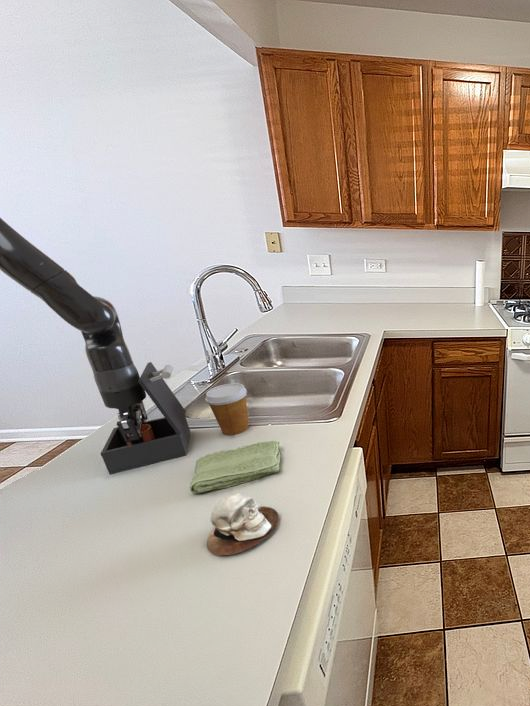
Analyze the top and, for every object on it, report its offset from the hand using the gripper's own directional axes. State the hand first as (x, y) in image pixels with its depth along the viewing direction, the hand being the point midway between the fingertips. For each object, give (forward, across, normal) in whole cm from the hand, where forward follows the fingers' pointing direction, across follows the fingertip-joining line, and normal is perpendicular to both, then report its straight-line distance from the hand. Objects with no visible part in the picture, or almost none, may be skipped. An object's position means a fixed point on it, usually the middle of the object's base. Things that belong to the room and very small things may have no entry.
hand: (143, 445), depth 98 cm
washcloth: (+3, +20, +20) cm, 28 cm away
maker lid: (-11, 0, +6) cm, 13 cm away
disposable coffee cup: (+3, -1, +19) cm, 20 cm away
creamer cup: (+2, 0, 0) cm, 2 cm away
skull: (+3, +41, +20) cm, 46 cm away
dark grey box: (+2, 0, +1) cm, 3 cm away
